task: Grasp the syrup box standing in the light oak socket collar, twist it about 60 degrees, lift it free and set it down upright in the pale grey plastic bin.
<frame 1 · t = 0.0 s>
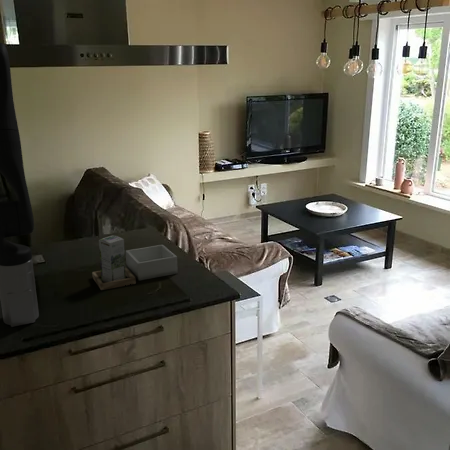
bin: (151, 270, 178), on the counter
socket collar: (113, 280, 169), on the counter
syrup box: (113, 281, 169), resting in socket collar
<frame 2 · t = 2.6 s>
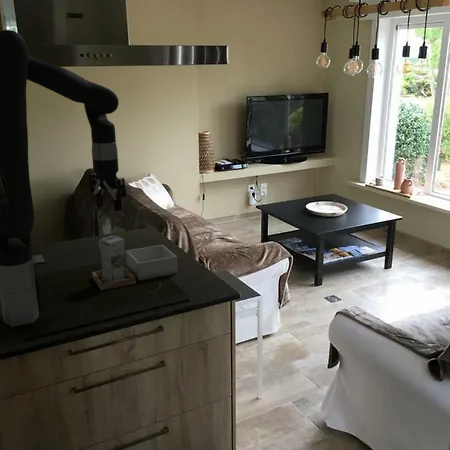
hand: (108, 208, 162), 24 cm above the counter, tool pointing down, fingers open, 8 cm apart
nothing on the counter moved.
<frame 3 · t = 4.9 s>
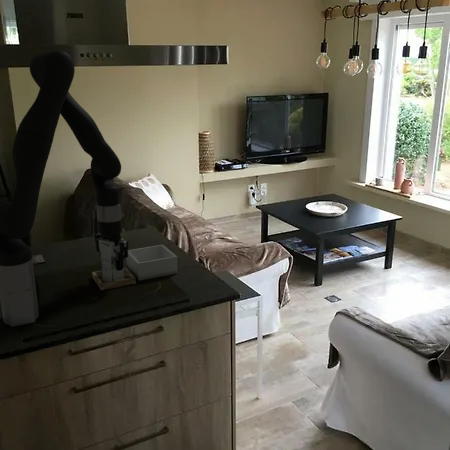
hand: (112, 267, 168), 5 cm above the counter, tool pointing down, fingers closed on syrup box, 6 cm apart
syrup box: (113, 281, 169), resting in socket collar, touching gripper
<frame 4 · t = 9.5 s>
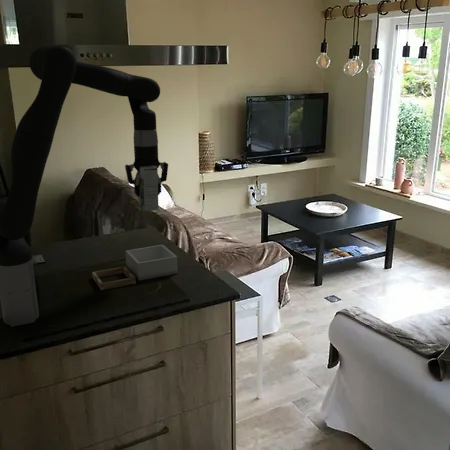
hand: (148, 195, 170), 26 cm above the counter, tool pointing down, fingers closed on syrup box, 6 cm apart
syrup box: (148, 209, 171), point 22 cm above the counter, touching gripper
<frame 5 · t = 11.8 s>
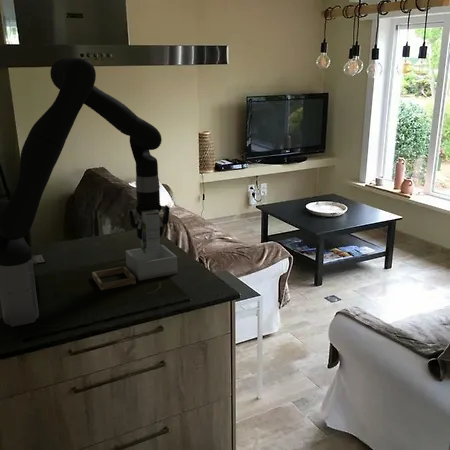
hand: (150, 237, 174), 12 cm above the counter, tool pointing down, fingers closed on syrup box, 6 cm apart
syrup box: (150, 250, 176), point 7 cm above the counter, touching gripper
when the fingers open (7 cm above the counter, at t = 13.8 s): syrup box drops 2 cm, resting on bin.
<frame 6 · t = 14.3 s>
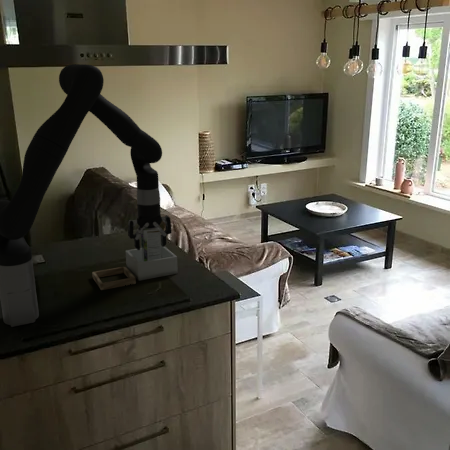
hand: (150, 247, 176), 8 cm above the counter, tool pointing down, fingers open, 8 cm apart
syrup box: (151, 267, 178), point 1 cm above the counter, touching bin
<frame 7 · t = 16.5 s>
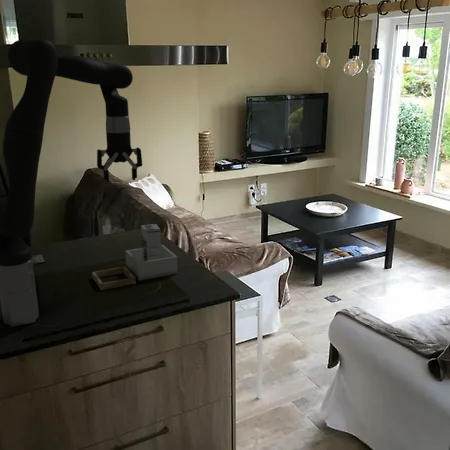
hand: (120, 180, 170), 31 cm above the counter, tool pointing down, fingers open, 8 cm apart
nothing on the counter moved.
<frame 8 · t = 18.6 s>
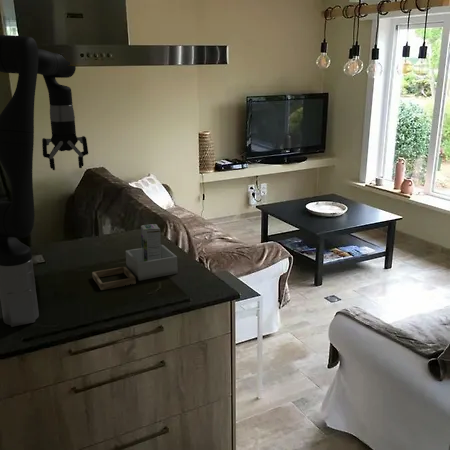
hand: (67, 168, 173), 34 cm above the counter, tool pointing down, fingers open, 8 cm apart
nothing on the counter moved.
at the end: syrup box inside the target area on the bin (0.3 cm from its centre), point 0.8 cm above the bin's base; syrup box tilted 0°; the gripper is holding nothing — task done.
